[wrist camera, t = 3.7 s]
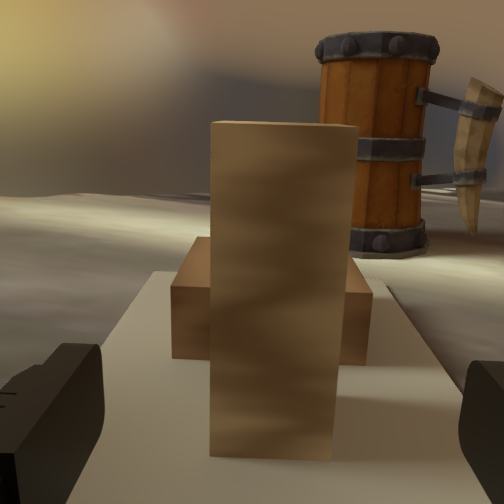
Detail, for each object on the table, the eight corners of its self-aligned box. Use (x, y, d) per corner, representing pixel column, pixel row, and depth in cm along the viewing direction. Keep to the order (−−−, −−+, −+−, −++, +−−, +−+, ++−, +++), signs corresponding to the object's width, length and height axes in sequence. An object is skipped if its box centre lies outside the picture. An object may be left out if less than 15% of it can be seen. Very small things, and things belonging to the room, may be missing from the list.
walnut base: (171, 358, 25) (170, 285, 24) (197, 290, 35) (197, 236, 33) (365, 366, 25) (373, 292, 24) (337, 295, 34) (341, 241, 33)
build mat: (-10, 519, 16) (-11, 506, 15) (154, 277, 39) (154, 271, 38) (554, 543, 15) (558, 530, 15) (380, 285, 38) (380, 279, 38)
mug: (497, 249, 50) (533, 41, 45) (450, 282, 40) (491, 14, 34) (335, 219, 62) (348, 52, 57) (265, 239, 51) (273, 35, 46)
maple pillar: (209, 456, 18) (210, 122, 15) (220, 390, 22) (223, 120, 19) (330, 461, 18) (359, 126, 15) (317, 393, 22) (337, 124, 19)
